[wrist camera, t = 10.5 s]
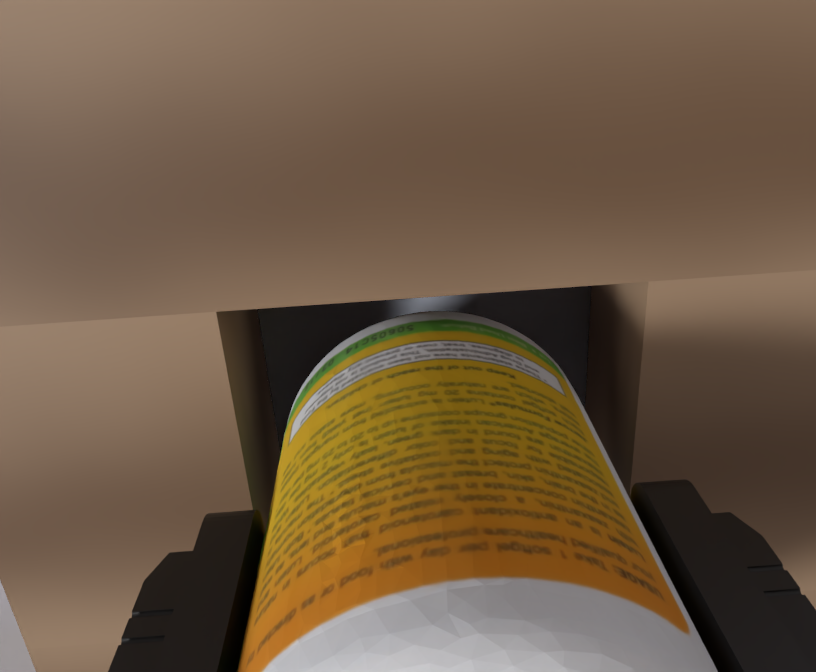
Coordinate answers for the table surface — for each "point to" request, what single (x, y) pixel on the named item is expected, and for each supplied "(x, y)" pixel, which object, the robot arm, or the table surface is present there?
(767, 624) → the robot arm
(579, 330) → the table surface
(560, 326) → the table surface
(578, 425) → the supplement bottle
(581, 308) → the table surface
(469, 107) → the walnut bottle holder
